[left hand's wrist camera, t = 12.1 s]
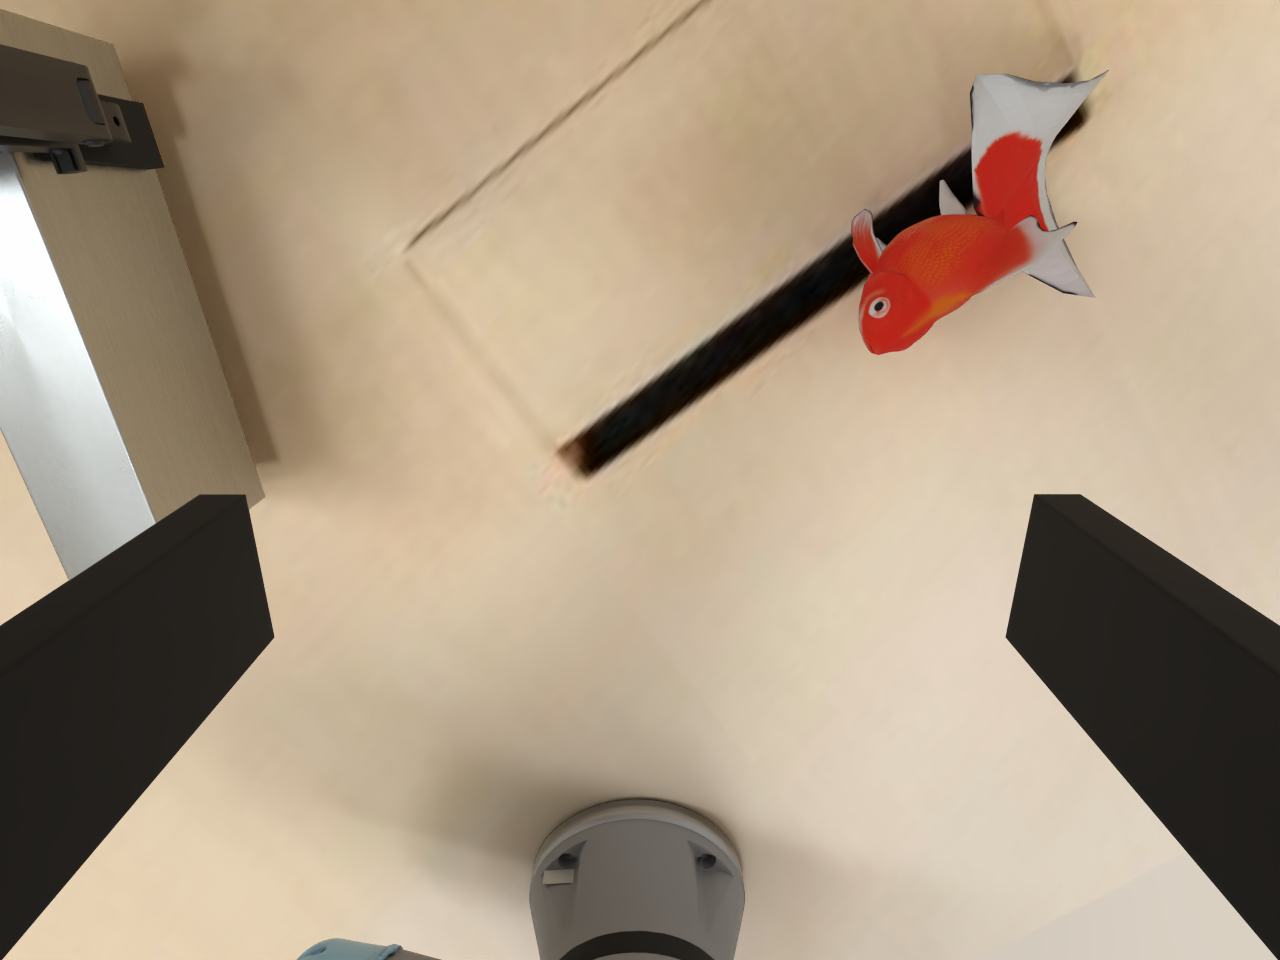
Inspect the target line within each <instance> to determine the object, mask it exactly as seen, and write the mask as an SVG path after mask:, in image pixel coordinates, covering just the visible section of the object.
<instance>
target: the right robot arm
mask: <svg viewBox="0 0 1280 960" xmlns="http://www.w3.org/2000/svg"><path fill="white" fill-rule="evenodd" d="M0 152H29V153H41V156H42V158H43V161H47V162H53V165H54V167H55V170H56V172H57V174H74V173H81V172H86V171H88V170H87V167H86V165H97V166H110V167H123V168H135V169H148V170H150V169H156V168H163V167H164V165H163V162H162V159H161V156H160V153H159V150H158V147H157V144H156V141H155V138H154V135H153V132H152V129H151V126H150V123H149V120H148V117H147V114H146V111H145V108H144V105H143V103H139V102H134V101H129V100H124V99H120V98H115V97H110V96H105V95H101V94H97V92H96V89H95V86H94V83H93V81H92V78H91V76H90V73H89V70H88V67H87V66H85V65H81V64H77V63H74V62H69V61H65V60H61V59H57V58H54V57H50V56H46V55H42V54H38V53H34V52H30V51H26V50H22V49H18V48H14V47H10V46H6V45H2V44H0Z"/></svg>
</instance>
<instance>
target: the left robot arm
mask: <svg viewBox="0 0 1280 960" xmlns="http://www.w3.org/2000/svg"><path fill="white" fill-rule="evenodd" d="M273 638H274V633H273V628H272V623H271V618H270V613H269V608H268V603H267V598H266V593H265V588H264V583H263V578H262V573H261V568H260V563H259V558H258V553H257V548H256V543H255V538H254V533H253V528H252V523H251V518H250V513H249V508H248V503H247V498H246V494H200V495H198V496H196V497H195V498H193V499H192V500H190V501H189V502H187V503H186V504H184V505H183V506H181V507H180V508H178V509H177V510H175V511H174V512H172V513H171V514H169V515H168V516H166V517H165V518H163V519H162V520H160V521H159V522H157V523H156V524H154V525H152V526H151V527H149V528H148V529H146V530H145V531H143V532H142V533H140V534H139V535H137V536H136V537H134V538H133V539H131V540H130V541H128V542H127V543H125V544H124V545H122V546H121V547H119V548H118V549H116V550H115V551H113V552H111V553H110V554H108V555H107V556H105V557H104V558H102V559H101V560H99V561H98V562H96V563H95V564H93V565H92V566H90V567H89V568H87V569H86V570H84V571H83V572H81V573H80V574H78V575H77V576H75V577H74V578H72V579H71V580H69V581H67V582H66V583H64V584H63V585H61V586H60V587H58V588H57V589H55V590H54V591H52V592H51V593H49V594H48V595H46V596H45V597H43V598H42V599H40V600H39V601H37V602H36V603H34V604H33V605H31V606H30V607H28V608H27V609H25V610H23V611H22V612H20V613H19V614H17V615H16V616H14V617H13V618H11V619H10V620H8V621H7V622H5V623H4V624H2V625H1V626H0V960H2V959H3V958H4V957H5V956H6V955H7V953H8V952H9V951H10V950H11V949H12V947H13V946H14V945H15V944H16V943H17V941H18V940H19V939H20V938H21V937H22V936H23V934H24V933H25V932H26V931H27V930H28V928H29V927H30V926H31V925H32V924H33V923H34V921H35V920H36V919H37V918H38V917H39V915H40V914H41V913H42V912H43V911H44V910H45V908H46V907H47V906H48V905H49V904H50V902H51V901H52V900H53V899H54V898H55V896H56V895H57V894H58V893H59V892H60V891H61V889H62V888H63V887H64V886H65V885H66V883H67V882H68V881H69V880H70V879H71V878H72V876H73V875H74V874H75V873H76V872H77V870H78V869H79V868H80V867H81V866H82V865H83V863H84V862H85V861H86V860H87V859H88V857H89V856H90V855H91V854H92V853H93V851H94V850H95V849H96V848H97V847H98V846H99V844H100V843H101V842H102V841H103V840H104V838H105V837H106V836H107V835H108V834H109V833H110V831H111V830H112V829H113V828H114V827H115V825H116V824H117V823H118V822H119V821H120V820H121V818H122V817H123V816H124V815H125V814H126V812H127V811H128V810H129V809H130V808H131V806H132V805H133V804H134V803H135V802H136V801H137V799H138V798H139V797H140V796H141V795H142V793H143V792H144V791H145V790H146V789H147V788H148V786H149V785H150V784H151V783H152V782H153V780H154V779H155V778H156V777H157V776H158V775H159V773H160V772H161V771H162V770H163V769H164V767H165V766H166V765H167V764H168V763H169V761H170V760H171V759H172V758H173V757H174V756H175V754H176V753H177V752H178V751H179V750H180V748H181V747H182V746H183V745H184V744H185V743H186V741H187V740H188V739H189V738H190V737H191V735H192V734H193V733H194V732H195V731H196V729H197V728H198V727H199V726H200V725H201V724H202V722H203V721H204V720H205V719H206V718H207V716H208V715H209V714H210V713H211V712H212V711H213V709H214V708H215V707H216V706H217V705H218V703H219V702H220V701H221V700H222V699H223V698H224V696H225V695H226V694H227V693H228V692H229V690H230V689H231V688H232V687H233V686H234V684H235V683H236V682H237V681H238V680H239V679H240V677H241V676H242V675H243V674H244V673H245V671H246V670H247V669H248V668H249V667H250V666H251V664H252V663H253V662H254V661H255V660H256V658H257V657H258V656H259V655H260V654H261V653H262V651H263V650H264V649H265V648H266V647H267V645H268V644H269V643H270V642H271V641H272V639H273ZM1006 638H1007V639H1008V641H1009V642H1010V643H1011V644H1012V645H1013V647H1014V648H1015V649H1016V650H1017V651H1018V653H1019V654H1020V655H1021V656H1022V657H1023V658H1024V660H1025V661H1026V662H1027V663H1028V664H1029V666H1030V667H1031V668H1032V669H1033V670H1034V671H1035V673H1036V674H1037V675H1038V676H1039V677H1040V679H1041V680H1042V681H1043V682H1044V683H1045V684H1046V686H1047V687H1048V688H1049V689H1050V690H1051V692H1052V693H1053V694H1054V695H1055V696H1056V698H1057V699H1058V700H1059V701H1060V702H1061V703H1062V705H1063V706H1064V707H1065V708H1066V709H1067V711H1068V712H1069V713H1070V714H1071V715H1072V716H1073V718H1074V719H1075V720H1076V721H1077V722H1078V724H1079V725H1080V726H1081V727H1082V728H1083V729H1084V731H1085V732H1086V733H1087V734H1088V735H1089V737H1090V738H1091V739H1092V740H1093V741H1094V743H1095V744H1096V745H1097V746H1098V747H1099V748H1100V750H1101V751H1102V752H1103V753H1104V754H1105V756H1106V757H1107V758H1108V759H1109V760H1110V761H1111V763H1112V764H1113V765H1114V766H1115V767H1116V769H1117V770H1118V771H1119V772H1120V773H1121V775H1122V776H1123V777H1124V778H1125V779H1126V780H1127V782H1128V783H1129V784H1130V785H1131V786H1132V788H1133V789H1134V790H1135V791H1136V792H1137V793H1138V795H1139V796H1140V797H1141V798H1142V799H1143V801H1144V802H1145V803H1146V804H1147V805H1148V806H1149V808H1150V809H1151V810H1152V811H1153V812H1154V814H1155V815H1156V816H1157V817H1158V818H1159V820H1160V821H1161V822H1162V823H1163V824H1164V825H1165V827H1166V828H1167V829H1168V830H1169V831H1170V833H1171V834H1172V835H1173V836H1174V837H1175V838H1176V840H1177V841H1178V842H1179V843H1180V844H1181V846H1182V847H1183V848H1184V849H1185V850H1186V851H1187V853H1188V854H1189V855H1190V856H1191V857H1192V859H1193V860H1194V861H1195V862H1196V863H1197V865H1198V866H1199V867H1200V868H1201V869H1202V870H1203V872H1204V873H1205V874H1206V875H1207V876H1208V878H1209V879H1210V880H1211V881H1212V882H1213V883H1214V885H1215V886H1216V887H1217V888H1218V889H1219V891H1220V892H1221V893H1222V894H1223V895H1224V896H1225V898H1226V899H1227V900H1228V901H1229V902H1230V904H1231V905H1232V906H1233V907H1234V908H1235V910H1236V911H1237V912H1238V913H1239V914H1240V915H1241V917H1242V918H1243V919H1244V920H1245V921H1246V923H1247V924H1248V925H1249V926H1250V927H1251V928H1252V930H1253V931H1254V932H1255V933H1256V934H1257V936H1258V937H1259V938H1260V939H1261V940H1262V941H1263V943H1264V944H1265V945H1266V946H1267V947H1268V949H1269V950H1270V951H1271V952H1272V953H1273V954H1274V956H1275V957H1276V958H1277V959H1278V960H1280V626H1279V625H1278V624H1276V623H1275V622H1273V621H1272V620H1270V619H1269V618H1267V617H1266V616H1264V615H1263V614H1261V613H1260V612H1258V611H1257V610H1255V609H1253V608H1252V607H1250V606H1249V605H1247V604H1246V603H1244V602H1243V601H1241V600H1240V599H1238V598H1237V597H1235V596H1234V595H1232V594H1231V593H1229V592H1228V591H1226V590H1225V589H1223V588H1222V587H1220V586H1219V585H1217V584H1216V583H1214V582H1213V581H1211V580H1209V579H1208V578H1206V577H1205V576H1203V575H1202V574H1200V573H1199V572H1197V571H1196V570H1194V569H1193V568H1191V567H1190V566H1188V565H1187V564H1185V563H1184V562H1182V561H1181V560H1179V559H1178V558H1176V557H1175V556H1173V555H1172V554H1170V553H1168V552H1167V551H1165V550H1164V549H1162V548H1161V547H1159V546H1158V545H1156V544H1155V543H1153V542H1152V541H1150V540H1149V539H1147V538H1146V537H1144V536H1143V535H1141V534H1140V533H1138V532H1137V531H1135V530H1134V529H1132V528H1131V527H1129V526H1128V525H1126V524H1124V523H1123V522H1121V521H1120V520H1118V519H1117V518H1115V517H1114V516H1112V515H1111V514H1109V513H1108V512H1106V511H1105V510H1103V509H1102V508H1100V507H1099V506H1097V505H1096V504H1094V503H1093V502H1091V501H1090V500H1088V499H1087V498H1085V497H1084V496H1082V495H1080V494H1034V498H1033V503H1032V508H1031V513H1030V518H1029V523H1028V528H1027V533H1026V538H1025V543H1024V548H1023V553H1022V558H1021V563H1020V568H1019V573H1018V578H1017V583H1016V588H1015V593H1014V598H1013V603H1012V608H1011V613H1010V618H1009V623H1008V628H1007V633H1006ZM744 904H745V892H744V885H743V878H742V871H741V865H740V862H739V858H738V856H737V853H736V851H735V849H734V847H733V846H732V844H731V842H730V841H729V840H728V838H727V837H726V836H725V835H724V834H723V833H722V831H721V830H720V829H718V828H717V827H716V826H715V825H714V824H713V823H711V822H710V821H708V820H707V819H706V818H704V817H702V816H701V815H699V814H697V813H695V812H693V811H691V810H689V809H686V808H683V807H680V806H677V805H674V804H670V803H666V802H661V801H654V800H640V799H635V800H621V801H613V802H608V803H604V804H600V805H597V806H594V807H591V808H588V809H586V810H584V811H582V812H579V813H577V814H575V815H574V816H572V817H570V818H569V819H567V820H566V821H564V822H563V823H562V824H560V825H559V826H558V827H557V828H556V829H555V830H554V831H553V832H552V833H551V834H550V835H549V836H548V837H547V839H546V840H545V842H544V843H543V844H542V846H541V848H540V850H539V852H538V854H537V857H536V860H535V863H534V868H533V874H532V880H531V887H530V908H531V914H532V919H533V924H534V929H535V935H536V940H537V945H538V950H539V955H540V960H733V959H734V954H735V950H736V945H737V940H738V935H739V930H740V926H741V921H742V916H743V910H744ZM297 960H440V959H436V958H432V957H429V956H425V955H421V954H417V953H414V952H410V951H406V950H403V948H402V947H401V946H399V945H397V944H392V945H389V946H387V947H386V946H380V945H374V944H367V943H362V942H357V941H351V940H346V939H338V938H335V939H329V940H324V941H322V942H319V943H317V944H315V945H314V946H312V947H311V948H309V949H308V950H306V951H305V952H304V953H303V954H302V955H301V956H300V957H299V958H298V959H297Z"/></svg>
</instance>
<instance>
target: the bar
mask: <svg viewBox="0 0 1280 960" xmlns="http://www.w3.org/2000/svg"><path fill="white" fill-rule="evenodd" d="M0 44H2V45H6V46H10V47H14V48H18V49H22V50H26V51H30V52H34V53H38V54H42V55H46V56H50V57H54V58H57V59H61V60H65V61H69V62H74V63H77V64H81V65H85V66H87V67H88V70H89V73H90V76H91V78H92V81H93V83H94V86H95V89H96V92H97V94H101V95H105V96H110V97H115V98H120V99H124V100H129V101H132V98H131V95H130V92H129V89H128V86H127V83H126V80H125V77H124V74H123V71H122V69H121V66H120V63H119V60H118V57H117V54H116V51H115V48H114V45H113V44H110V43H107V42H104V41H101V40H97V39H94V38H91V37H88V36H85V35H82V34H78V33H75V32H72V31H69V30H66V29H62V28H59V27H56V26H53V25H50V24H47V23H43V22H40V21H37V20H34V19H31V18H28V17H24V16H21V15H18V14H15V13H12V12H8V11H5V10H2V9H0ZM86 167H87V170H88V171H86V172H81V173H74V174H57V172H56V170H55V167H54V165H53V162H47V161H43V158H42V156H41V153H29V152H0V429H1V431H2V433H3V436H4V438H5V440H6V442H7V445H8V447H9V449H10V451H11V453H12V456H13V458H14V460H15V462H16V464H17V467H18V469H19V471H20V473H21V475H22V478H23V480H24V482H25V484H26V486H27V489H28V491H29V493H30V495H31V498H32V500H33V502H34V504H35V506H36V509H37V511H38V513H39V515H40V517H41V520H42V522H43V524H44V526H45V528H46V531H47V533H48V535H49V537H50V540H51V542H52V544H53V546H54V548H55V551H56V553H57V555H58V557H59V559H60V562H61V564H62V566H63V568H64V570H65V573H66V575H67V577H68V579H69V580H71V579H72V578H74V577H75V576H77V575H78V574H80V573H81V572H83V571H84V570H86V569H87V568H89V567H90V566H92V565H93V564H95V563H96V562H98V561H99V560H101V559H102V558H104V557H105V556H107V555H108V554H110V553H111V552H113V551H115V550H116V549H118V548H119V547H121V546H122V545H124V544H125V543H127V542H128V541H130V540H131V539H133V538H134V537H136V536H137V535H139V534H140V533H142V532H143V531H145V530H146V529H148V528H149V527H151V526H152V525H154V524H156V523H157V522H159V521H160V520H162V519H163V518H165V517H166V516H168V515H169V514H171V513H172V512H174V511H175V510H177V509H178V508H180V507H181V506H183V505H184V504H186V503H187V502H189V501H190V500H192V499H193V498H195V497H196V496H198V495H200V494H246V498H247V503H248V508H249V509H250V508H252V507H253V506H254V505H256V504H257V503H258V502H259V501H261V500H262V499H263V498H265V494H264V491H263V488H262V485H261V482H260V479H259V476H258V473H257V470H256V467H255V464H254V462H253V459H252V456H251V453H250V450H249V447H248V444H247V441H246V438H245V435H244V432H243V429H242V426H241V423H240V420H239V417H238V414H237V411H236V408H235V405H234V402H233V399H232V396H231V393H230V390H229V387H228V384H227V381H226V378H225V375H224V372H223V369H222V366H221V363H220V360H219V357H218V354H217V351H216V348H215V345H214V342H213V339H212V336H211V333H210V331H209V328H208V325H207V322H206V319H205V316H204V313H203V310H202V307H201V304H200V301H199V298H198V295H197V292H196V289H195V286H194V283H193V280H192V277H191V274H190V271H189V268H188V265H187V262H186V259H185V256H184V253H183V250H182V247H181V244H180V241H179V238H178V235H177V232H176V229H175V226H174V223H173V220H172V217H171V214H170V211H169V208H168V205H167V202H166V200H165V197H164V194H163V191H162V188H161V185H160V182H159V179H158V176H157V173H156V170H155V169H150V170H148V169H135V168H123V167H110V166H97V165H86Z"/></svg>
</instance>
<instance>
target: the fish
mask: <svg viewBox="0 0 1280 960" xmlns="http://www.w3.org/2000/svg"><path fill="white" fill-rule="evenodd" d="M1108 71H1109V70H1107V71H1106V72H1104V73H1102V74H1101V75H1099V76H1097V77H1095V78H1093V79H1091V80H1089V81H1081V82H1073V83H1065V84H1064V83H1049V82H1035V81H1031V80H1027V79H1023V78H1020V77H1016V76H1012V75H1009V74H993V75H976V78H975V81H974V84H973V86H972V89H971V92H970V102H971V119H972V178H973V200H974V209H975V211H976V213H977V215H967V212H966V210H965V208H964V207H963V205H962V204H961V203H960V202H959V201H958V199H957V198H956V197H955V196H954V194H953V193H952V192H951V190H950V189H949V187H948V186H947V184H946V182H945V181H944V180H941V181H940V195H939V205H940V211H941V215H939V216H935V217H931V218H929V219H926V220H923V221H921V222H919V223H917V224H915V225H912V226H910V227H908V228H907V229H905V230H903V231H902V232H900V233H899V234H898V235H897V236H896V237H895V238H894V239H893V240H892V241H891V242H890V243H889V244H888V245H886V244H884V243H883V242H882V241H881V240H879V239H878V238H876V236H875V234H874V230H873V217H872V213H871V212H870V211H869V210H866V209H864V210H863V211H861V212H860V213H859V214H857V215H856V216H855V217H854V219H853V221H852V226H851V231H852V235H853V246H854V248H855V250H856V253H857V255H858V257H859V259H860V260H861V261H862V263H863V264H864V265H865V267H866V268H867V269H868V270H869V272H870V275H869V277H868V280H867V282H866V283H865V285H864V288H863V293H862V297H861V302H860V307H859V330H860V333H861V336H862V339H863V342H864V343H865V345H866V347H867V348H868V350H869V351H870V352H871V353H874V354H877V355H880V354H884V353H888V352H893V351H902V350H905V349H907V348H909V347H910V346H911V345H912V344H913V343H914V342H916V341H917V340H919V339H920V338H921V337H922V336H923V335H925V334H926V332H927V331H928V330H929V329H930V328H931V327H932V325H933V324H934V322H936V321H937V320H938V319H940V318H942V317H943V316H945V315H947V314H949V313H951V312H953V311H954V310H956V309H958V308H959V307H960V306H962V305H963V304H964V303H965V302H966V301H968V300H969V299H970V297H971V296H973V295H975V294H978V293H980V292H982V291H984V290H985V289H987V288H989V287H991V286H993V285H995V284H997V283H999V282H1001V281H1003V280H1005V279H1007V278H1009V277H1011V276H1013V275H1015V274H1017V273H1020V272H1024V273H1026V274H1028V275H1030V276H1032V277H1034V278H1036V279H1037V280H1039V281H1041V282H1043V283H1045V284H1047V285H1049V286H1051V287H1053V288H1055V289H1056V290H1058V291H1060V292H1062V293H1066V294H1074V295H1081V296H1088V297H1095V296H1094V294H1093V293H1092V291H1091V289H1090V288H1089V286H1088V285H1087V283H1086V281H1085V280H1084V278H1083V276H1082V275H1081V273H1080V271H1079V270H1078V268H1077V267H1076V264H1075V262H1074V260H1073V258H1072V256H1071V254H1070V252H1069V249H1068V247H1067V245H1066V243H1065V241H1064V239H1063V238H1064V237H1065V236H1066V235H1067V234H1068V233H1069V232H1070V231H1071V230H1072V229H1073V228H1074V226H1075V225H1076V224H1077V222H1072V223H1070V224H1068V225H1066V226H1063V227H1061V228H1058V226H1057V223H1056V220H1055V217H1054V214H1053V211H1052V208H1051V205H1050V202H1049V199H1048V195H1047V192H1046V184H1045V163H1046V158H1047V154H1048V151H1049V149H1050V146H1051V144H1052V142H1053V140H1054V139H1055V137H1056V135H1057V134H1058V133H1059V131H1060V130H1061V129H1062V128H1063V126H1064V125H1065V124H1066V123H1067V121H1068V120H1069V119H1070V118H1071V116H1072V115H1073V114H1074V112H1075V111H1076V110H1077V109H1078V107H1079V106H1080V105H1081V104H1082V102H1083V101H1084V100H1085V98H1086V97H1087V96H1088V95H1089V93H1090V92H1091V91H1092V90H1093V88H1094V87H1095V86H1096V85H1097V84H1098V82H1099V81H1100V80H1101V79H1102V78H1103V77H1104V76H1105V74H1106V73H1107V72H1108Z"/></svg>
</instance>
